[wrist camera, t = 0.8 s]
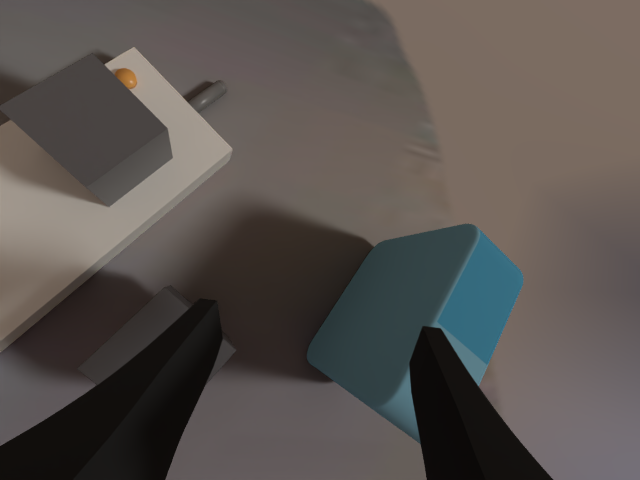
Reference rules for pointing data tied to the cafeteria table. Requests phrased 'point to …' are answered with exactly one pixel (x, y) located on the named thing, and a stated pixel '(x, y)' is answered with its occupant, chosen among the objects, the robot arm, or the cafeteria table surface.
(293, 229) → the cafeteria table surface
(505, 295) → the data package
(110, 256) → the power strip
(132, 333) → the matte gray cuboid
